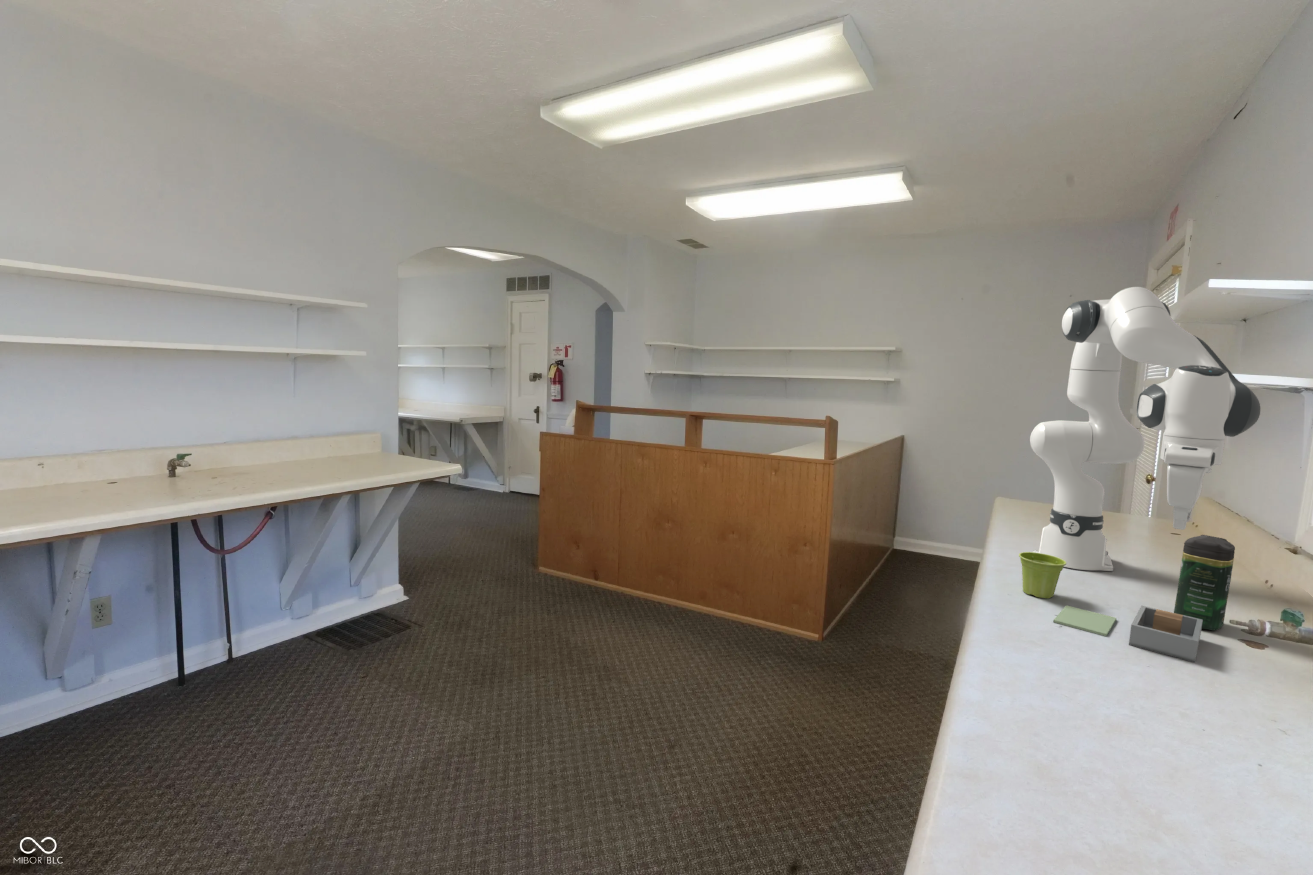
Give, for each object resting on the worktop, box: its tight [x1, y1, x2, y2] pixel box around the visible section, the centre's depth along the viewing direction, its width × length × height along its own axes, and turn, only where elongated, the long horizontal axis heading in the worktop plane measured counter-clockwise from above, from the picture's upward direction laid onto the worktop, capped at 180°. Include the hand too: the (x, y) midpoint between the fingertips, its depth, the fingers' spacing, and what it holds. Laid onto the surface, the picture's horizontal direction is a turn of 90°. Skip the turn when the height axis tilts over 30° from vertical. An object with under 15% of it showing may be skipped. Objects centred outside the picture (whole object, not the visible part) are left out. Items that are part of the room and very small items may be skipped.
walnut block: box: [1152, 608, 1183, 635], centre depth 120 cm, size 4×4×5 cm
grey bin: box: [1128, 605, 1203, 663], centre depth 120 cm, size 15×10×4 cm, turn 136°
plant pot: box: [1018, 551, 1066, 599], centre depth 144 cm, size 9×9×9 cm
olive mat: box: [1052, 605, 1117, 637], centre depth 129 cm, size 12×9×1 cm
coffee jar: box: [1173, 534, 1236, 631], centre depth 129 cm, size 10×8×19 cm
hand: (1181, 524), depth 118 cm, fingers open, 8 cm apart
